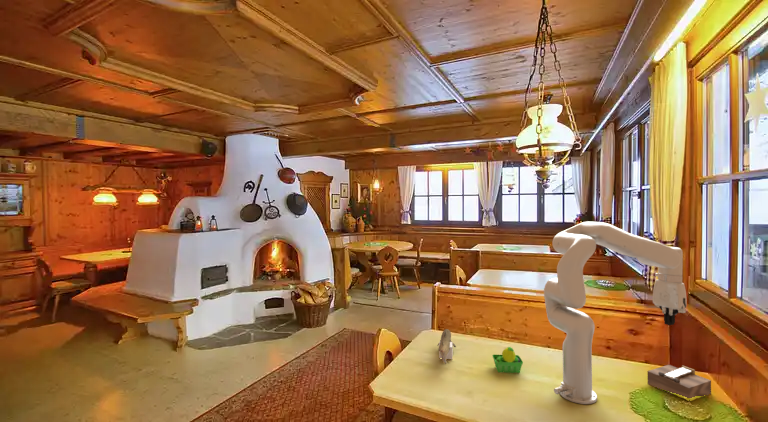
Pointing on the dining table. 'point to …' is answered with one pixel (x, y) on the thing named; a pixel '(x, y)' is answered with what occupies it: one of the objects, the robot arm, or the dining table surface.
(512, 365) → the fruit basket
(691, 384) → the walnut box
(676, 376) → the steel strap
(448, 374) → the dining table surface
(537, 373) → the dining table surface
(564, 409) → the dining table surface
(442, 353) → the wood carving
